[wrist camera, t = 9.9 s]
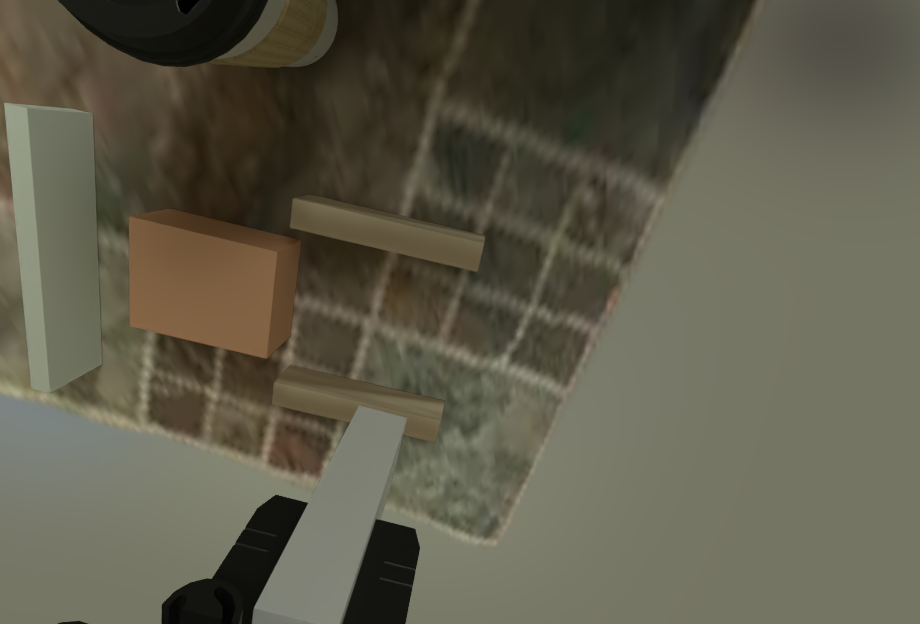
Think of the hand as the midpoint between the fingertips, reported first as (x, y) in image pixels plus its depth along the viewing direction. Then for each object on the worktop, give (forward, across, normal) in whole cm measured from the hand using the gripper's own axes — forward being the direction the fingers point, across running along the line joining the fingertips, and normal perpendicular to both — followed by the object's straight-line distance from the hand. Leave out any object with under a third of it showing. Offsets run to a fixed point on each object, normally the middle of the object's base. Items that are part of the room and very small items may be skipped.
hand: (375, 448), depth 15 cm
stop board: (+22, -27, -6) cm, 35 cm away
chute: (+22, -4, -5) cm, 23 cm away
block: (+22, -16, -5) cm, 28 cm away
